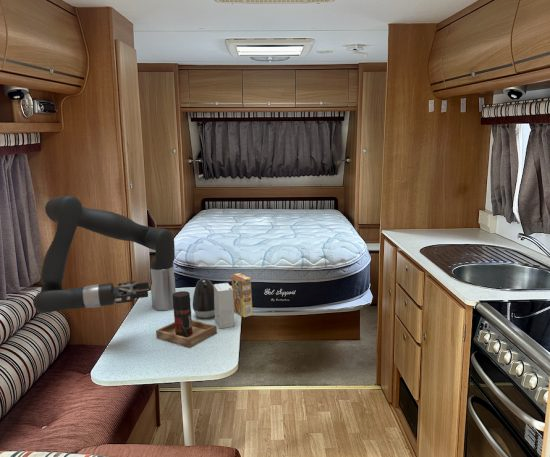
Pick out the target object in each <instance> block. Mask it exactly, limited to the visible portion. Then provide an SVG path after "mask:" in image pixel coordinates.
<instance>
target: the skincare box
mask: <svg viewBox="0 0 550 457" xmlns="http://www.w3.org/2000/svg"><path fill="white" fill-rule="evenodd" d="M213 286H214V307H215V315H214V322H215V323H216V326H217V327H218V329H226V328H227V329H228V328H233V327H235V315H234V314H235V312H234V303H233V289H232V285H230V284H229V282H222V283H215V284H214V283H213Z"/></svg>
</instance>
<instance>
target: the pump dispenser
mask: <svg viewBox="0 0 550 457" xmlns="http://www.w3.org/2000/svg"><path fill="white" fill-rule="evenodd" d="M192 298H193V299H192V310H193V312H194V313H195V315H196V316H197V317H199V318H202V319H208V318H212V317H215V307H214V283H212V281H211V280H210V279H209V278H206V277H205V278H201V279H199V280H198V281H197V282H196V285H195V287H194V293H193V297H192Z"/></svg>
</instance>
